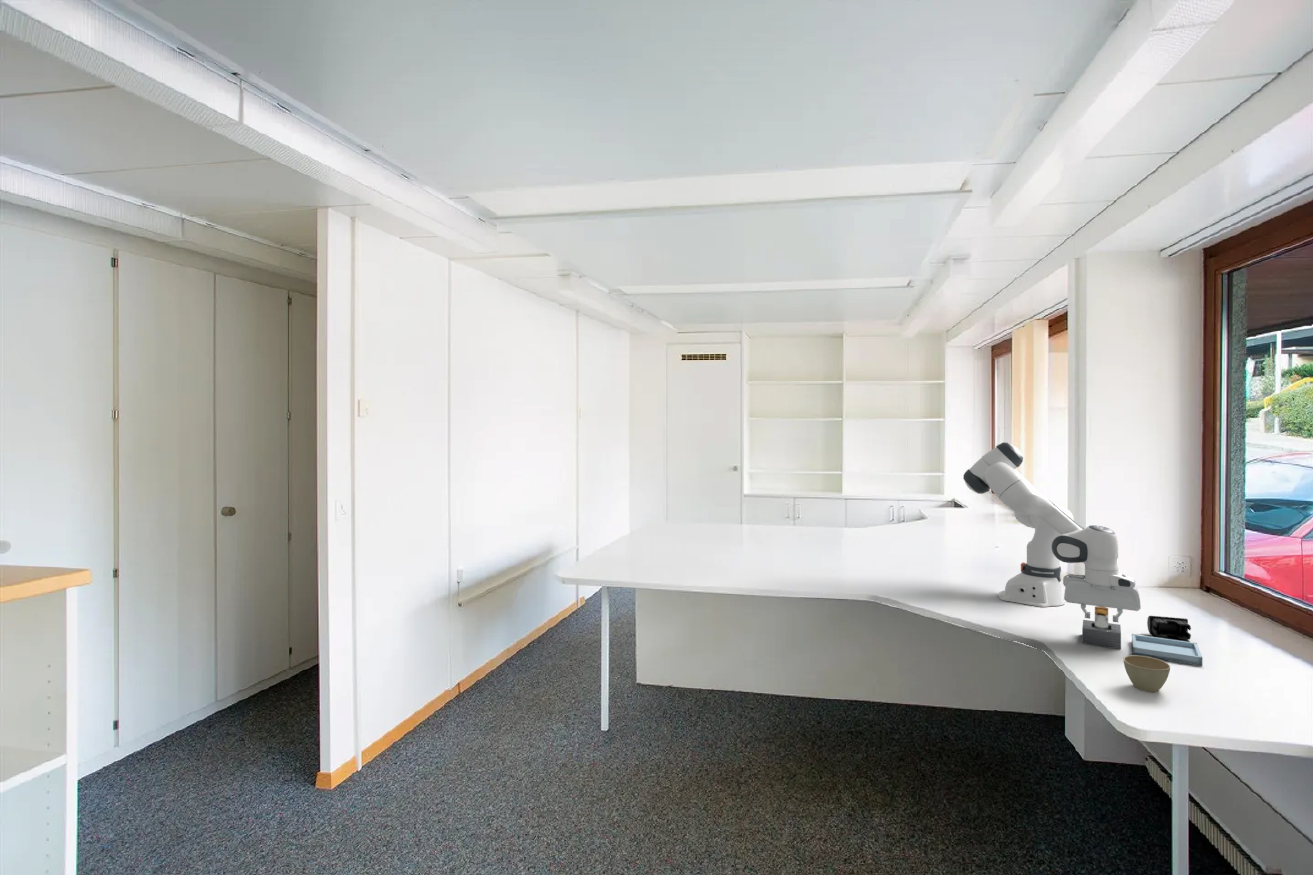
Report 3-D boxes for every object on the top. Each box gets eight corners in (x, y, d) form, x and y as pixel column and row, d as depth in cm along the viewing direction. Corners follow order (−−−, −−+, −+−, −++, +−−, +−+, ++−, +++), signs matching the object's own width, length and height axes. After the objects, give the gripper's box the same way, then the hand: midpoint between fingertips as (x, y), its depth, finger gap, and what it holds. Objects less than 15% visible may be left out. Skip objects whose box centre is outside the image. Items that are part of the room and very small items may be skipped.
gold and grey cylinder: (1094, 642, 206) (1094, 608, 206) (1094, 639, 209) (1094, 605, 209) (1108, 644, 204) (1108, 610, 204) (1108, 641, 207) (1108, 607, 207)
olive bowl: (1113, 681, 176) (1113, 656, 176) (1148, 679, 177) (1148, 654, 176) (1144, 697, 166) (1144, 670, 166) (1180, 695, 167) (1180, 668, 167)
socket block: (1082, 643, 205) (1082, 627, 205) (1083, 634, 213) (1083, 619, 213) (1120, 649, 200) (1120, 633, 199) (1120, 639, 208) (1120, 624, 208)
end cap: (1184, 636, 210) (1184, 616, 210) (1192, 643, 203) (1192, 622, 203) (1147, 633, 214) (1147, 613, 214) (1153, 640, 207) (1153, 619, 207)
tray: (1133, 655, 195) (1133, 647, 194) (1131, 641, 206) (1131, 633, 206) (1202, 666, 185) (1202, 657, 185) (1196, 651, 197) (1196, 643, 197)
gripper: (1062, 575, 209) (1062, 617, 210) (1141, 583, 198) (1140, 627, 198) (1063, 571, 214) (1063, 612, 215) (1140, 578, 203) (1140, 622, 203)
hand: (1101, 619), depth 206 cm, fingers open, 6 cm apart
